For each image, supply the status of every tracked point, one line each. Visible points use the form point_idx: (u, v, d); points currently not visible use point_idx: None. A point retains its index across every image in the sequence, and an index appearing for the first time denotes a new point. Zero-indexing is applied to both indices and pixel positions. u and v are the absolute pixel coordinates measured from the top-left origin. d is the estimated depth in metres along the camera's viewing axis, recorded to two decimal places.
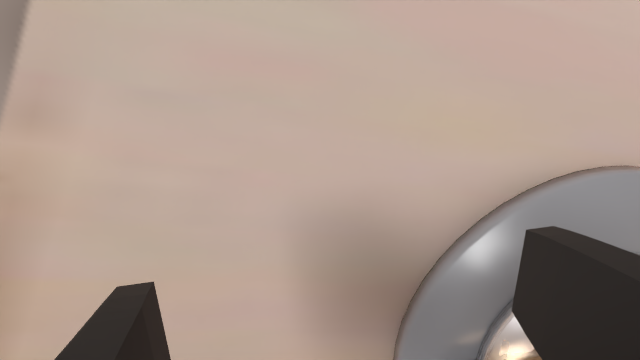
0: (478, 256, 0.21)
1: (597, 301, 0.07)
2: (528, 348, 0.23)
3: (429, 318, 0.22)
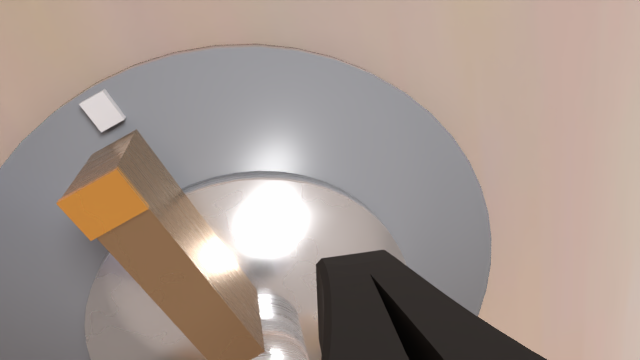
0: (334, 83, 0.15)
1: None
2: (241, 237, 0.15)
3: (214, 72, 0.14)
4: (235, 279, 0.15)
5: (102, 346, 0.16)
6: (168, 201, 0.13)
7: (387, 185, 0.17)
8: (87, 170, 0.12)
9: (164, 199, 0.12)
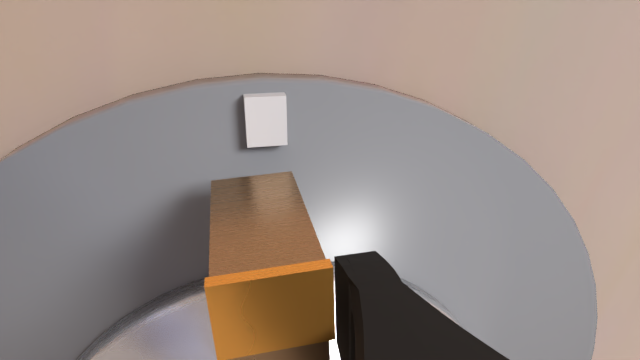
0: (533, 210, 0.12)
1: None
2: (333, 354, 0.11)
3: (423, 137, 0.10)
4: None
5: None
6: None
7: (506, 344, 0.13)
8: (232, 222, 0.07)
9: None
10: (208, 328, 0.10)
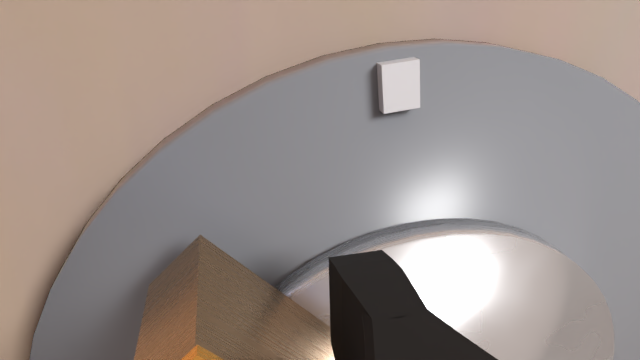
0: None
1: (361, 343, 0.07)
2: None
3: (542, 87, 0.10)
4: None
5: None
6: (277, 336, 0.08)
7: (618, 287, 0.14)
8: (150, 333, 0.08)
9: (272, 338, 0.08)
10: None
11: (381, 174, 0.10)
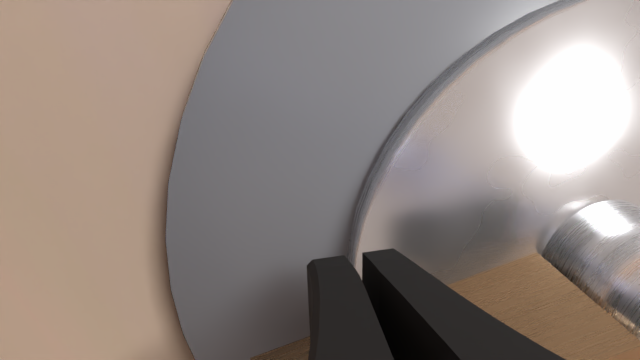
0: None
1: (403, 336, 0.07)
2: (444, 261, 0.10)
3: None
4: (502, 306, 0.09)
5: None
6: None
7: None
8: None
9: None
10: None
11: None
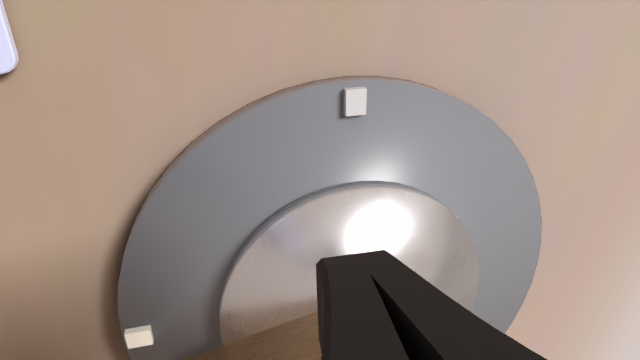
0: (498, 150, 0.20)
1: None
2: (268, 315, 0.19)
3: (436, 108, 0.18)
4: (292, 341, 0.19)
5: None
6: None
7: (486, 236, 0.22)
8: None
9: None
10: None
11: (342, 151, 0.18)
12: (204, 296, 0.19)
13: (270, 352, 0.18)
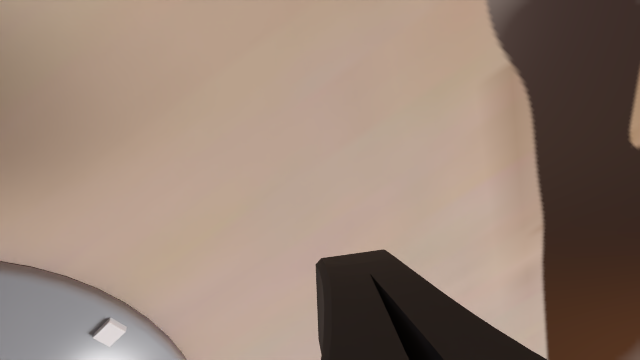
0: None
1: None
2: None
3: None
4: None
5: None
6: None
7: None
8: None
9: None
10: None
11: (69, 355, 0.19)
12: None
13: None
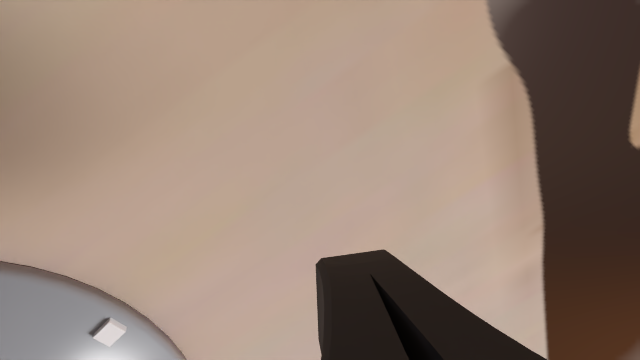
0: None
1: None
2: None
3: None
4: None
5: None
6: None
7: None
8: None
9: None
10: None
11: (69, 355, 0.19)
12: None
13: None
